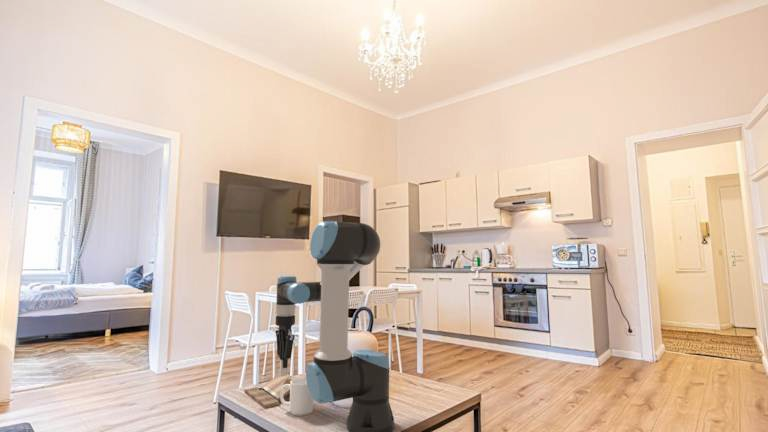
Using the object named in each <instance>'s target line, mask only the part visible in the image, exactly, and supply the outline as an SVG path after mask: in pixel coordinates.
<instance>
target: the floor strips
mask: <svg viewBox="0 0 768 432" xmlns="http://www.w3.org/2000/svg"><path fill="white" fill-rule="evenodd" d="M258 387H259V386H256V387H255V386H254V387H251V388H246V389H244V393H245V395H247V396H248V397H250V398H251V399H252V400H253V401H255V402H256V403H257V404H259V405H260V406H261V407H262V408H263V409H267V408H270V407H275V406H279V405H280V401H278V400H276V399H275V398H274V397H272V396H271V395H269V394H268V393H267V392H265V391H264V390H262V391H261V390H259V389H257V388H258Z"/></svg>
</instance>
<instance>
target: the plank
mask: <svg viewBox="0 0 768 432" xmlns="http://www.w3.org/2000/svg"><path fill="white" fill-rule="evenodd" d="M293 379H296V378H295V377H294V376H292V375H290V374H288V373H287V376H283V377H280V376H279V373H278V374H276V375H275V376H274V377H273V378H272V379H270V380H269V381H268V382H266V383H265V384H264V385H262V386H261V387H262V388H261V389H264V390H265V391H266V392H267V393H268V394H269V395H271V396H272V397H274V398H275V399H276V400H278V401H279V402H281V400H280V391H281V388H282V386H283V385H285V384H290V381H291V380H293ZM288 395H290V388H285V389H284V392H283V399H285V398H286V397H287V396H288Z"/></svg>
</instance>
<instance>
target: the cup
mask: <svg viewBox="0 0 768 432" xmlns="http://www.w3.org/2000/svg"><path fill="white" fill-rule="evenodd" d="M285 388H290V393H289V401H286V400H285V398H283V392H284V389H285ZM280 400H281V401H280V403H281V404H283V405H284V406H286V407H289V408H288V409H289V413H290V414H291V415H293V416H298V417H299V416H307V415H310V414H312V413H313V411H314V408H315V405H314V403H315V400H314V399H313V398H312V396H311V394H310V392H309V389H308V386H307V381H306V377H297V378H295V379H293V380H291V381H290V384H285V385H283V386H282V388H281V391H280Z"/></svg>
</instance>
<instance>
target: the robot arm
mask: <svg viewBox="0 0 768 432" xmlns="http://www.w3.org/2000/svg"><path fill="white" fill-rule="evenodd" d="M380 239H381V238H380V236H379V234H378V232H377V230H376V229H375V228H373V227H372V226H371V225H369V224H367V223H363V222H351V221H350V222H348V221H337V220H332V221H331V220H329V221H321V222H320V223H318V224H317V225H316V226H315V228H314V230H313V232H312V234H311V238H310V242H309V243H310V245H309V251H310V254H311V257H312V258H313V259H315V260H316V265H317V266H318V268H319V269H320V270H321V281H309V282H307V281H305V282H304V281H303V282H300V281H299V282H297V277H296V276H295V275H280V276H278V278H277V283H276V303H275V314H276V316H275V326H277V327H278V329H277V330H275V337H276V352H277V353H276V354H277V356H278V358H279V369H278V370H279V373H278V374H279V376H280V377H283V376H287V374H288V367H289V366H288V364H289V363H288V362H289V359H291V358H292V352H293V346H294V340H295V336H296V335H295V334H293V332H292V326H294V325H295V324H296V315H295V314H296V309H297V305H298V304H299V305H301V304H304V303H310V302H311V303H312V302H313V303H314V302H320V311H319V312H320V314H319V318H320V319H319V341H318V343H319V345H318V348H319V349H317V351H316V352H315V353H314V354H313V361H312V362H310V363H308V364H307V366H306V369H305V378H306V381H307V386H308V389H309V392H310V394H311V396H312V398H313V399H314V402H316V403H317V404H328V403H330V404H332V403H334V402H338V401H343V400H347V399H351V398H352V403H351V405H350V409H349V412H348V416H347V418H346V429H347V431H348V432H392V431H394V428H395V418H394V414H393V410H392V407H391V403H390V357H389V356H388V355H387V354H386V353H384V352H380V351H376V350H370V349H357V350H356V349H355V350H354V351H353V353H352V352H351V350H349V347H348V345H349V344H348V340H349V339H348V338H349V305H350V303H349V300H350V299H349V295H350V292H349V291H350V281H351V279H352V278H353V277H354V276H355V275H356V274H357V273H359V271H360V270H361V269H362V268H364V267H365V266H367V265H370V264H371V263H372V262H373V261H375V259H376V258H377V256H378V255H379V254H380V250H381V240H380ZM296 304H297V305H296Z"/></svg>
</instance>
